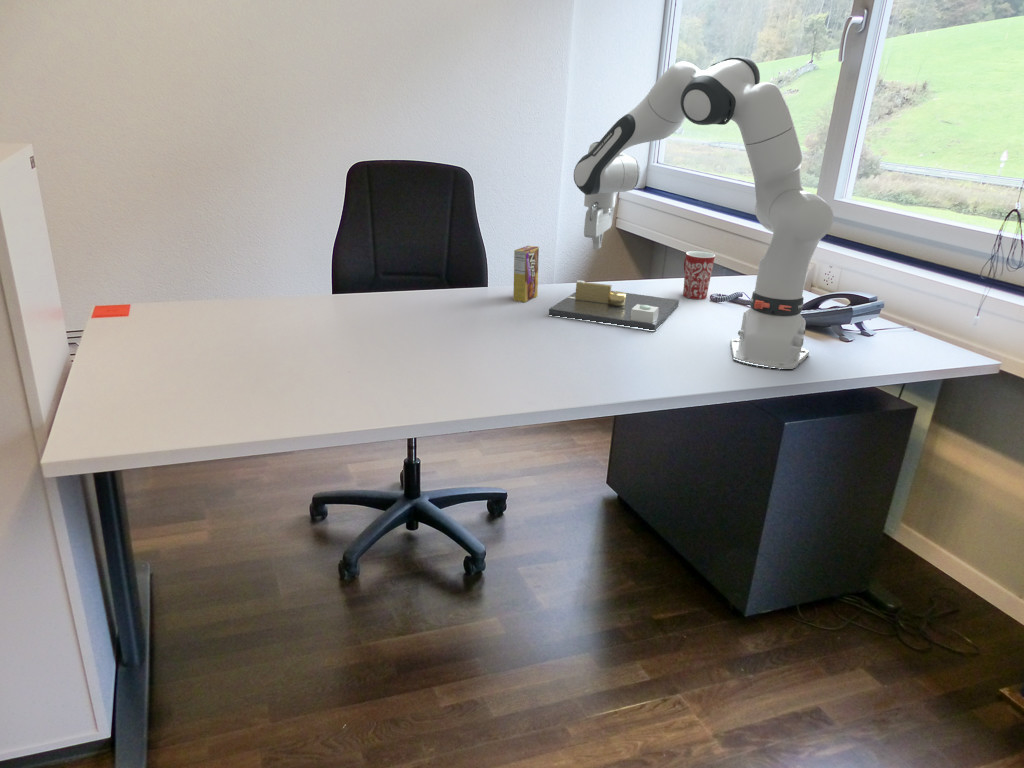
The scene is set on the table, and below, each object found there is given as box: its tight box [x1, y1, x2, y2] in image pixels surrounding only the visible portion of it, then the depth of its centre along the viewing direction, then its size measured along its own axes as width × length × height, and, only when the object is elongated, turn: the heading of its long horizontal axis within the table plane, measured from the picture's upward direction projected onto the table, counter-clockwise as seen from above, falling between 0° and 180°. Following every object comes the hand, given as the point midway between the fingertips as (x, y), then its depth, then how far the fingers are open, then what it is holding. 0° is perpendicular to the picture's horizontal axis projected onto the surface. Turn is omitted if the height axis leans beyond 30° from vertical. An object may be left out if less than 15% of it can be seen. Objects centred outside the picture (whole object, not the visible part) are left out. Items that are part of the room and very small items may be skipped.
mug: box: [682, 250, 716, 300], centre depth 234 cm, size 13×9×14 cm
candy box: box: [512, 245, 540, 303], centre depth 221 cm, size 9×4×15 cm, turn 152°
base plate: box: [548, 291, 680, 331], centre depth 213 cm, size 30×30×6 cm
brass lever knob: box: [575, 280, 627, 306], centre depth 214 cm, size 14×5×5 cm, turn 71°
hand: (596, 248), depth 217 cm, fingers closed
